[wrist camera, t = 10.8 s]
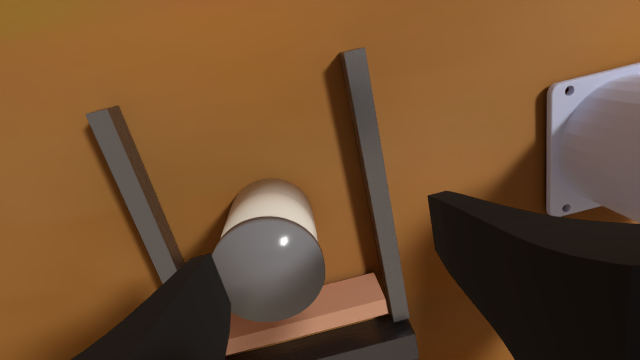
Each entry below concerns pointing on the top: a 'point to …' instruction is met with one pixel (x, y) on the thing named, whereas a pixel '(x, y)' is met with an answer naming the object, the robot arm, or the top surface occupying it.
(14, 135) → the top surface
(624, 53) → the top surface
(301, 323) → the bar
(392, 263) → the lane
